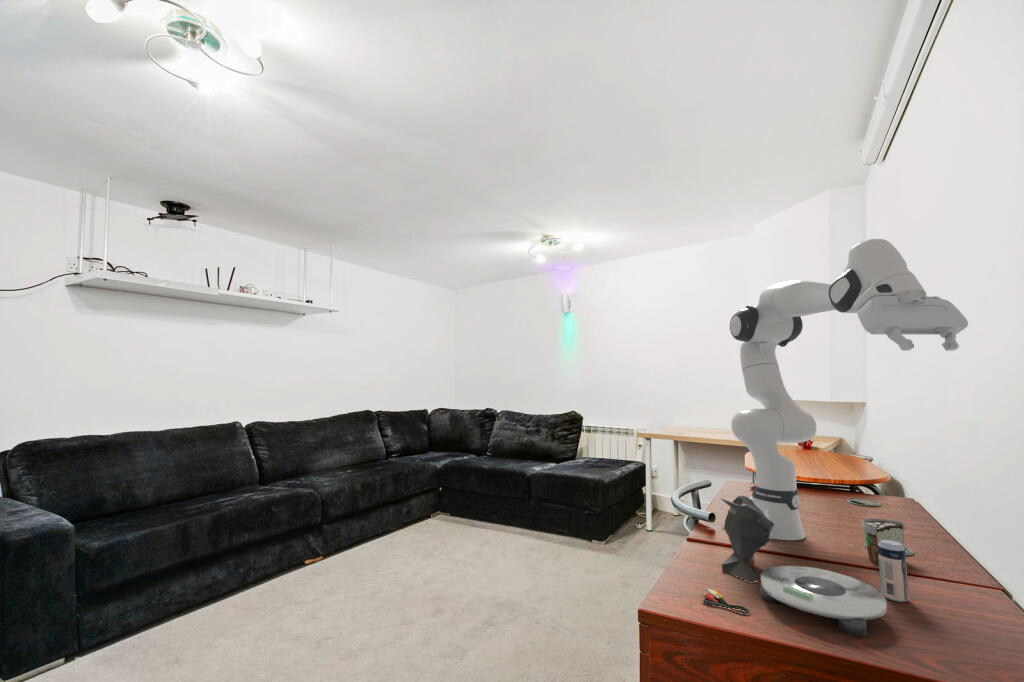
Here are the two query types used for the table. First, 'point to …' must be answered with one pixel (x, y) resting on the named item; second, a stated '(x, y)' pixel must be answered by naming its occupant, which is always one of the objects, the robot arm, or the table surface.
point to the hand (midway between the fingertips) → (930, 349)
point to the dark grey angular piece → (745, 536)
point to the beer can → (893, 570)
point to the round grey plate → (824, 595)
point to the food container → (881, 534)
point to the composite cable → (720, 601)
